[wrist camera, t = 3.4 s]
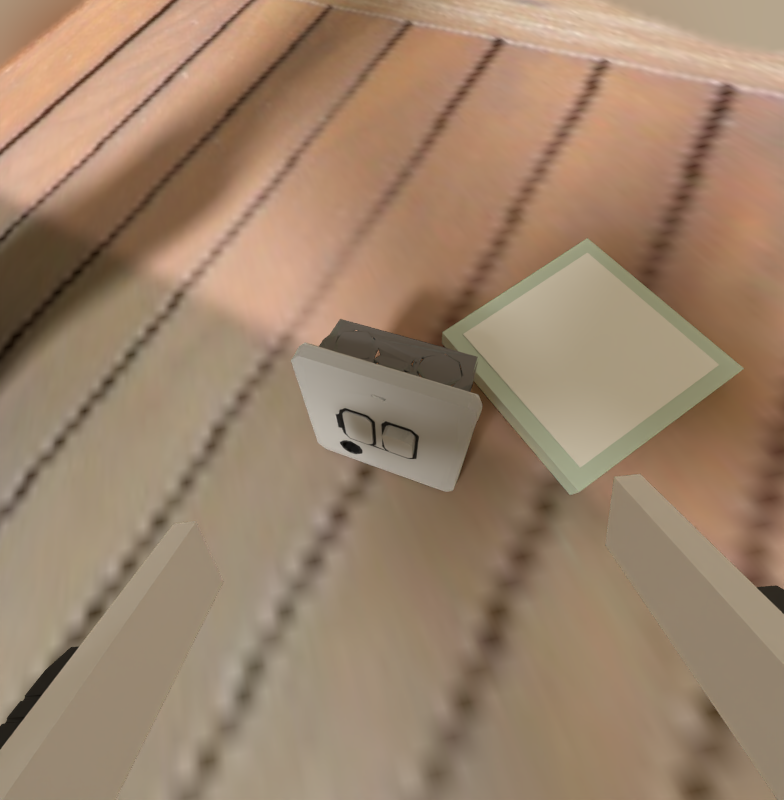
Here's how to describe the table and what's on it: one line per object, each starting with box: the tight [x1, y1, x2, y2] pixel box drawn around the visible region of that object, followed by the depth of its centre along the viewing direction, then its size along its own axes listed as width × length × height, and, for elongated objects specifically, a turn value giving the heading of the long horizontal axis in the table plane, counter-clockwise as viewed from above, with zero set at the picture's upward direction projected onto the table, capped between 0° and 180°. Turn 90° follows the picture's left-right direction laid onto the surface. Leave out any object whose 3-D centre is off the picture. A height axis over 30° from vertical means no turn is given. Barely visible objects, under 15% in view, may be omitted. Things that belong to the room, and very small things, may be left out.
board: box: [442, 238, 744, 495], centre depth 25 cm, size 13×13×2 cm
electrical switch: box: [291, 319, 482, 492], centre depth 21 cm, size 9×5×9 cm, turn 69°
